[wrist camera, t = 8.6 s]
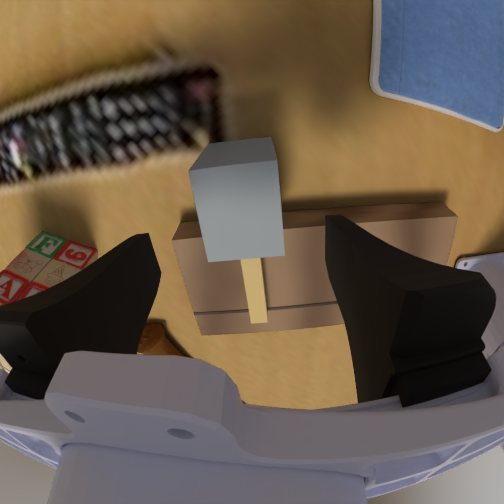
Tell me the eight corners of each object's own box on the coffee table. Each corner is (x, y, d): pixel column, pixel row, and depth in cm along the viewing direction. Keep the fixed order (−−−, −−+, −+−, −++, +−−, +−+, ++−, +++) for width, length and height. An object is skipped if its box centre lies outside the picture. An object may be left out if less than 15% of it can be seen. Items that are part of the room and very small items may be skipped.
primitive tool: (253, 406, 36) (252, 429, 33) (218, 412, 37) (215, 434, 34) (162, 313, 27) (153, 341, 24) (123, 327, 28) (112, 352, 25)
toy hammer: (271, 136, 18) (277, 160, 13) (283, 287, 24) (289, 344, 19) (208, 143, 18) (188, 170, 13) (234, 291, 24) (229, 347, 19)
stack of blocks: (103, 377, 33) (77, 456, 23) (63, 361, 32) (31, 435, 22) (98, 247, 23) (23, 362, 12) (41, 228, 22) (-43, 321, 11)
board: (441, 202, 20) (458, 216, 17) (422, 291, 24) (432, 310, 22) (180, 222, 21) (171, 240, 19) (205, 314, 26) (201, 335, 24)
